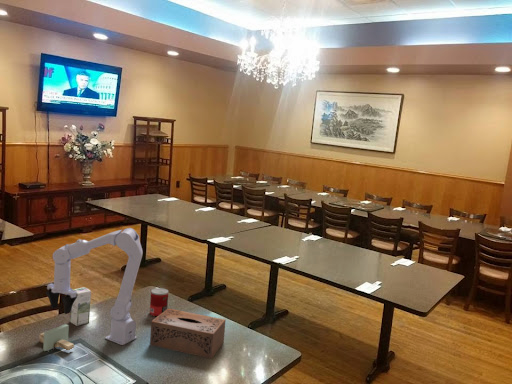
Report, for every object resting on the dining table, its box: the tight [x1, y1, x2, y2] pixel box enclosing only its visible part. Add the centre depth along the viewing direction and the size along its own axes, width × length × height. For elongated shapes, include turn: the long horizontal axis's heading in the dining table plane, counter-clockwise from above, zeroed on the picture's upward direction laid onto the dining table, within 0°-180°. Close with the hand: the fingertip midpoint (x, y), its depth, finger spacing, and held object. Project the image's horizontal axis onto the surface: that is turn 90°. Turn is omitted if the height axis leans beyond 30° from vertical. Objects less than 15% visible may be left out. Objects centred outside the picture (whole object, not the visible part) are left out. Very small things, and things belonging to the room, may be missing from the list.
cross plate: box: [42, 323, 70, 352], centre depth 157 cm, size 9×2×7 cm, turn 152°
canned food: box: [149, 287, 169, 317], centre depth 195 cm, size 8×8×11 cm
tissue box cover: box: [149, 307, 226, 359], centre depth 169 cm, size 26×14×10 cm, turn 76°
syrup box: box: [69, 286, 92, 327], centre depth 178 cm, size 6×6×14 cm
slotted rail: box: [38, 331, 75, 350], centre depth 157 cm, size 16×2×3 cm, turn 62°
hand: (60, 310), depth 166 cm, fingers open, 7 cm apart
